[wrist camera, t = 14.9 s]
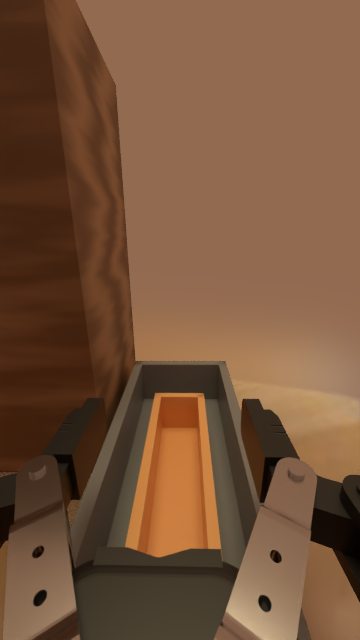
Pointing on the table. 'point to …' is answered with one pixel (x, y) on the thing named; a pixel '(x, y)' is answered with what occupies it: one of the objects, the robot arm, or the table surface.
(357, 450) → the table surface
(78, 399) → the walnut stand
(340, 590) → the table surface
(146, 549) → the narrow crate
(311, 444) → the table surface
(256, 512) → the charcoal crate
